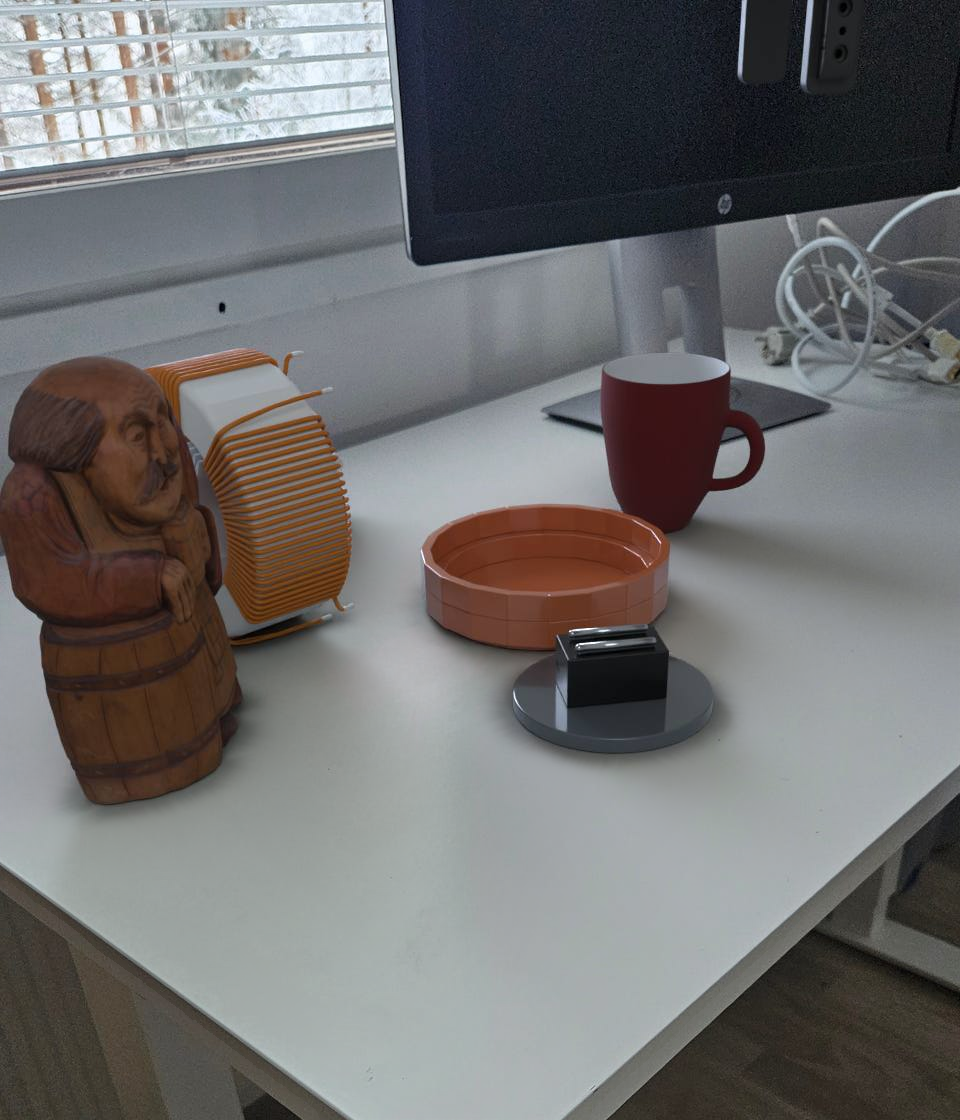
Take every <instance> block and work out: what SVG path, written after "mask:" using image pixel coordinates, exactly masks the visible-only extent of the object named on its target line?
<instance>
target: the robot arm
mask: <svg viewBox="0 0 960 1120" xmlns="http://www.w3.org/2000/svg"><path fill="white" fill-rule="evenodd" d="M865 2H866V0H807V4H806V15H805V16H806V17H805V25H804V26H805V27H804V40H803V50H802V59H801V60H802V61H801V62H802V63H801V70H800V71H801V72H800V73H801V74H800V87H801V89H802V91H803V92H804V93H806V94H808V95H830V94H831V95H832V94H845V93H848V92H849V91H851V90H852V89H853V88H854V86H855V85H856V81H857V74H858V65H859V57H860V56H859V55H860V46H861V40H862V39H861V37H862V29H863V20H864V10H865ZM792 4H793V0H741V13H740V14H741V15H740V27H739V28H740V29H739V43H738V44H739V46H738V61H737V78H738V80H739V81H740V82H741V83H743V84H744V85H745V84H746V85H763V84H776V83H777V84H778V83H779V82H781V81H782V80H783V79H784V78H785V76H786V73H787V66H788V53H789V44H790V43H789V42H790V30H791V17H792V6H793V5H792Z"/></svg>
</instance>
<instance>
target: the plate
mask: <svg viewBox="0 0 960 1120" xmlns="http://www.w3.org/2000/svg"><path fill="white" fill-rule="evenodd" d="M713 689H714V688H713V686H712V684H711V682H710V680H709V679H708V678H707V676H706V675H705V673H703V672H702V671H701V670H700V669H698V668H697V667H695V666H694V665H693V664H691V663H688V662H686V661H685V660H683V659H681V658H678V657H675V656H673V655H670V654H669V665H668V682H667V697H666V698H664V699H654V700H644V701H634V702H624V703H614V704H603V705H593V706H583V707H573V708H568V707H567V705H566V703H565V700H564V698H563V696H562V693H561V691H560V689H559V686H558V684H557V682H556V654H553V655H550V656H547V657H545V658H543V659H540V660H538V661H536V662H535V663H533V664H531V665H530V666H528V667H527V668H525V670H524V671H522V672H521V673H520V675H519V676H518V677H517V679H516V680H515V682H514V685H513V688H512V708H513V712H514V714H515V716H516V718H517V720H518V721H519V722H520V723H521V725H523V726H524V727H525V728H526V729H527V730H528V731H530V732H531V733H532V734H534V735H536V736H538V737H539V738H541V739H543V740H545V741H548V742H550V743H553V744H556V745H558V746H563V747H565V748H569V749H575V750H579V751H584V752H585V751H586V752H591V753H605V754H606V753H608V754H625V753H639V752H646V751H651V750H652V751H653V750H656V749H660V748H665V747H667V746H672V745H674V744H677V743H679V742H682V741H684V740H686V739H688V738H690V737H691V736H693V735H694V734H696V733H697V732H698V731H700V730H701V729H702V728H703V727H704V726H706V724H707V723H708V722H709V719H710V718H711V716H712V713H713V705H714V690H713Z"/></svg>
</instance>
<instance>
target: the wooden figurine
mask: <svg viewBox="0 0 960 1120" xmlns="http://www.w3.org/2000/svg"><path fill="white" fill-rule="evenodd" d="M7 442H8V443H7V456H8V457H9V459H10V460H11V461H12V463H13V467H12V468H11V470H10V471H9V473H7V475H6V477H5V478H4V480H3V483H2V486H1V489H0V541H1V545H2V548H3V551H4V556H5V560H6V564H7V569H8V573H9V578H10V584H11V585H10V586H11V590H12V592H13V595H14V597H15V598H16V599H17V600H18V601H19V602H20V603H21V604H22V606H23V607H24V608H26V610H28V611H30V613H32V614H34V615H35V616H36V617H37V619H38V620H40V621H41V622H42V623H41V626H40V632H39V637H38V638H39V648H40V662H41V664H40V665H41V669H42V672H43V679H44V683H45V684H44V685H45V692H46V696H47V699H48V703H49V706H50V709H51V712H52V716H53V720H54V723H55V727H56V730H57V733H58V736H59V740H60V743H61V746H62V748H63V751H64V753H65V756H66V758H67V759H68V760H69V762H70V763H69V764H70V766H71V769H72V770H73V771H74V775H75V778H76V779H77V781H78V784H79V786H80V788H81V790H82V792H83V795H84V796H85V797H86V798H87V799H88V800H89V801H90V802H92V803H95V804H101V805H102V804H103V805H111V804H119V803H125V802H131V801H137V800H143V799H151V798H155V797H159V796H163V795H165V794H166V793H169V792H172V791H177V790H180V789H184V788H186V787H188V786H190V785H192V784H194V783H196V782H197V781H199V780H201V779H202V778H204V777H205V776H207V775H209V774H210V773H213V771H215V770H216V769H217V768H218V766H220V765H221V763H222V759H223V758H222V757H223V748H224V747H225V746H226V745H227V744H228V743H229V740H230V738H231V737H232V735H233V734H234V733H235V732H236V731H237V730H238V721H237V718H236V717H235V716H234V715H233V714H231V712H230V711H231V709H234V708H235V707H236V706H238V705H239V704H241V703H242V702H243V700H244V695H243V691H242V688H241V685H240V682H239V679H238V676H237V673H238V664H237V661H236V659H235V656H234V653H233V649H232V647H231V646H232V645H230V643H229V639H228V635H227V631H226V627H225V623H224V620H223V618H222V615H221V612H220V609H219V607H218V604H217V602H216V600H215V598H214V597H215V596H216V595H217V593H218V591H219V589H220V587H221V584H222V565H221V557H220V549H219V543H218V537H217V530H216V525H215V520H214V516H213V513H212V512H211V510H210V509H209V508H207V507H206V506H204V505H201V504H200V503H199V488H198V479H197V475H196V471H195V467H194V463H193V459H192V456H191V453H190V450H189V447H188V444H187V441H186V439H185V436H184V434H183V431H182V429H181V427H180V425H179V423H178V421H177V420H176V418H175V416H174V415H173V409H172V407H171V405H170V403H169V401H168V399H167V397H166V395H165V393H164V391H163V389H162V388H161V386H160V385H159V384H158V382H157V381H156V380H155V378H154V377H153V376H151V375H150V374H149V373H147V372H146V371H144V369H142V368H140V367H138V366H136V365H134V364H132V363H130V362H127V361H125V360H122V359H117V358H113V357H108V356H102V355H101V356H99V355H98V356H97V355H91V356H90V355H89V356H80V357H75V358H71V359H66V360H63V361H60V362H58V363H55V364H51V365H50V366H48V367H46V368H43V370H41V371H40V372H39V373H38V374H37V375H36V376H35V377H34V378H33V379H32V380H31V382H30V383H29V384H28V385H27V386H26V387H25V388H24V390H22V393H21V394H20V396H19V398H18V400H17V402H16V403H15V406H14V408H13V413H12V416H11V419H10V423H9V430H8V440H7Z"/></svg>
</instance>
